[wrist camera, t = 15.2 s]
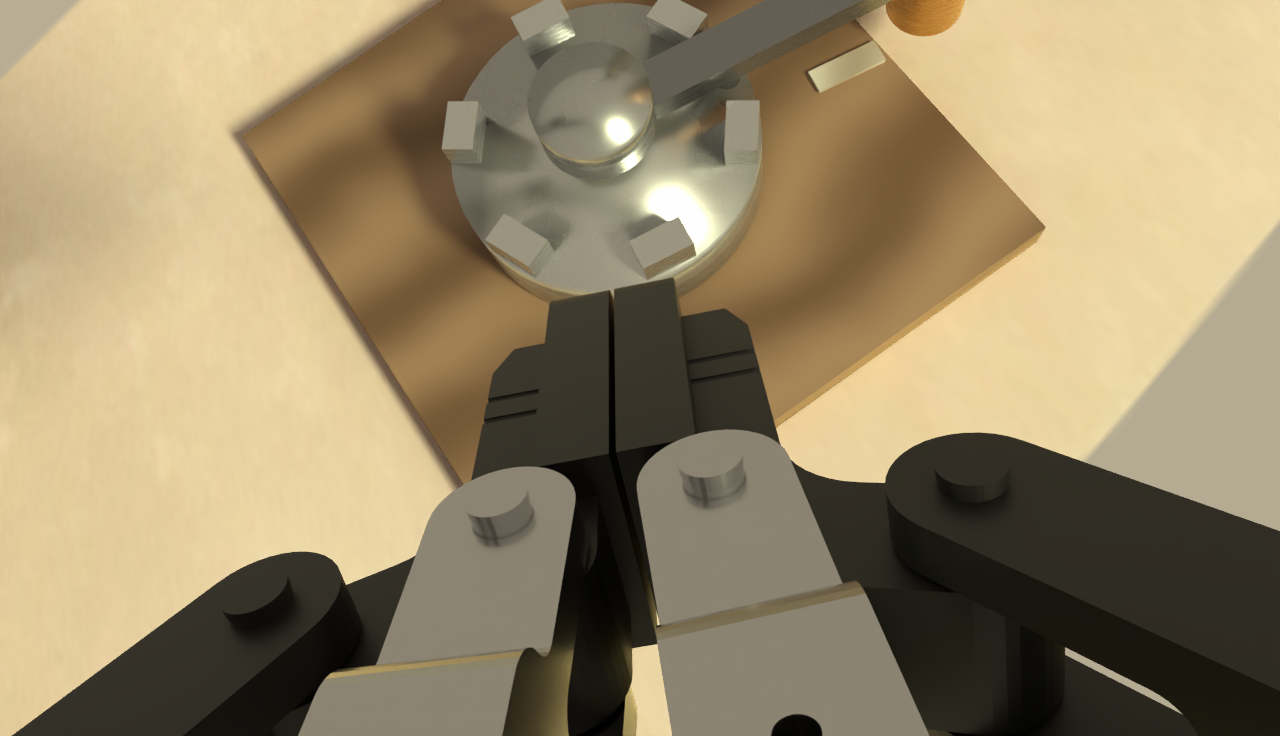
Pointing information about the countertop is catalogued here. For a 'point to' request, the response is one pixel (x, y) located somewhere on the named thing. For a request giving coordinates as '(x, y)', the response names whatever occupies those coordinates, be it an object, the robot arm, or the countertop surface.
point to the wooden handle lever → (630, 136)
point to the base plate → (745, 285)
